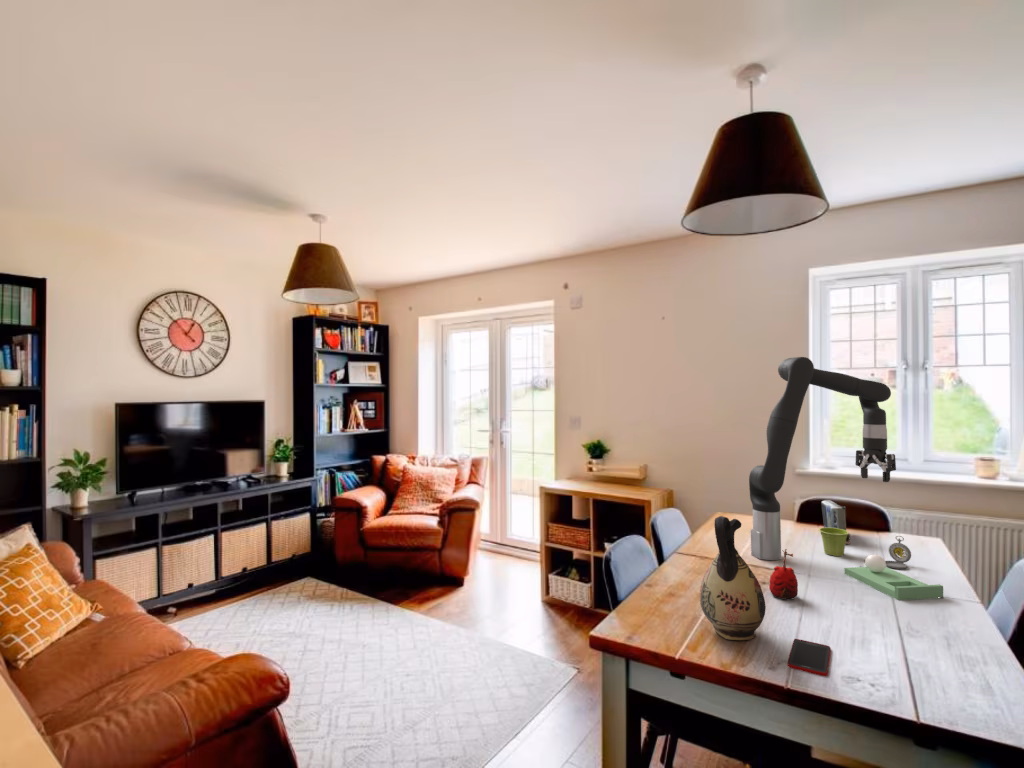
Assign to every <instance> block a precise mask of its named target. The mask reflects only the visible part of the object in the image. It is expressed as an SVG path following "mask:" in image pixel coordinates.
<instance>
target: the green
mask: <svg viewBox="0 0 1024 768" xmlns="http://www.w3.org/2000/svg"><path fill="white" fill-rule="evenodd" d="M843 574H844V575H845V576H849V577H850V578H852V579H854V580H857V581H859V582H861V583H863V584H864V585H866V586H869V587H871V588H873V589H875V590H877V591H879V592H881V593H883V594H885V595H887V596H889V597H891V598H893V599H896V600H898V601H901V600H902V601H906V600H907V601H909V600H910V601H911V600H926V599H927V600H930V599H929V598H932V599H939V598H938V597H943V598H944V585H942V584H928V583H925V582H923V581H920V580H919V579H916V578H914V577H911V576H908V575H906V574H904V573H901V572H899V571H896V570H894V569H893V568H891V567H888V566H886V568H885V570H884V571H882V572H879V573H876V572H872V571H871V570H869V569H868V568H867V566H856V567H854V566H852V567H844V573H843Z"/></svg>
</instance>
